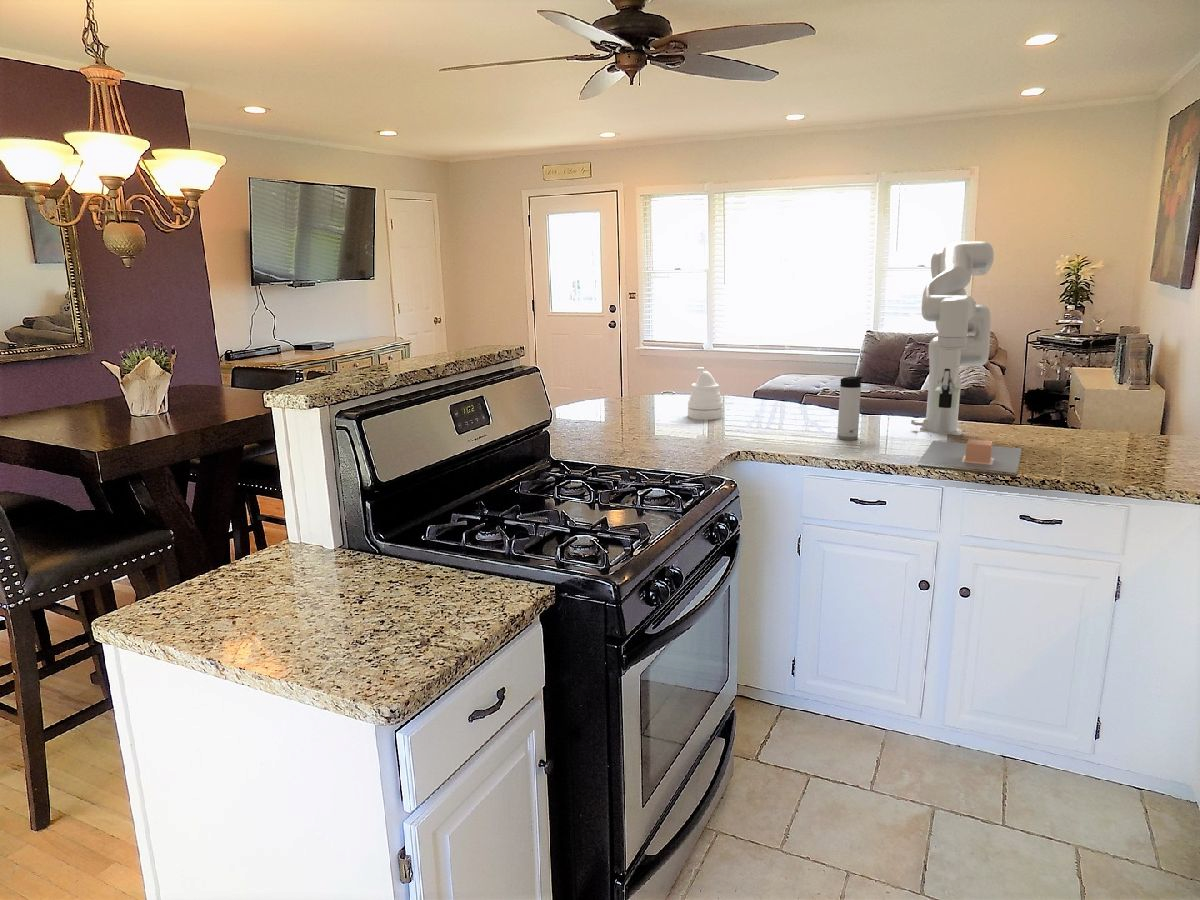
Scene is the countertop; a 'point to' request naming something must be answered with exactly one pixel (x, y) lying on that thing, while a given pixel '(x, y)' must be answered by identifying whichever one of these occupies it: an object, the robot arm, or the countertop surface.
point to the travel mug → (849, 408)
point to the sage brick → (955, 398)
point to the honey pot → (705, 398)
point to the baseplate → (955, 457)
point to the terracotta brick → (978, 451)
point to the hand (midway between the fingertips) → (946, 404)
